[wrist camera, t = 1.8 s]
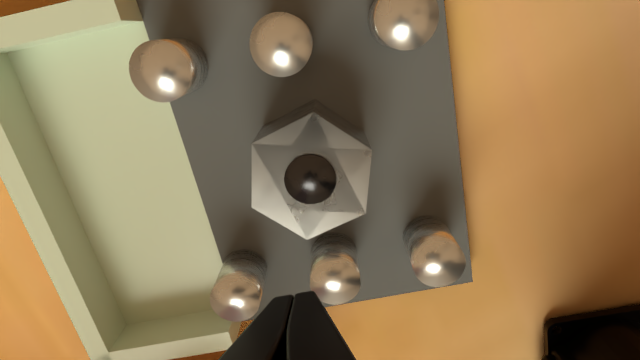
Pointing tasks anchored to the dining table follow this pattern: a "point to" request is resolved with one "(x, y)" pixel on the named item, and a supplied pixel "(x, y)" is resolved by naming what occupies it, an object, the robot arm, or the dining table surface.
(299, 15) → the mat
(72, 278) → the parts tray
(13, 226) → the dining table surface
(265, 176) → the steel nut
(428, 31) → the standoffs
